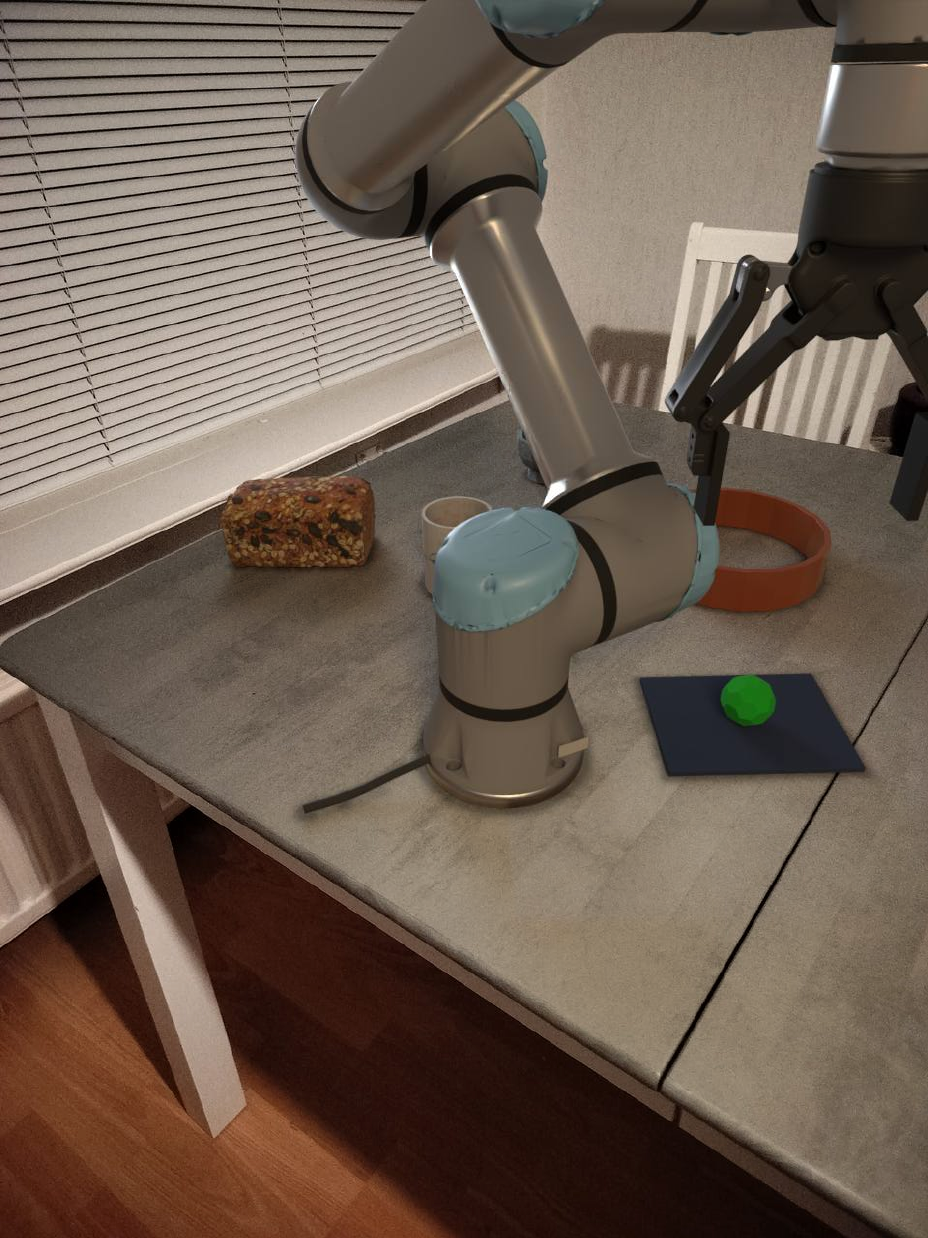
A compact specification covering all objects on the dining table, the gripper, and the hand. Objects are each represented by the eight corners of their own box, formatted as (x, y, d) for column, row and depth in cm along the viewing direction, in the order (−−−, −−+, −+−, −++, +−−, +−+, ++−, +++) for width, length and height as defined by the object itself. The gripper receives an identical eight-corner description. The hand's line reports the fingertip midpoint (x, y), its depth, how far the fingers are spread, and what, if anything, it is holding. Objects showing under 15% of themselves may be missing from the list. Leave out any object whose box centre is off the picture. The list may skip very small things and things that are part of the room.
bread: (379, 533, 116) (373, 467, 110) (366, 572, 107) (358, 503, 102) (250, 531, 117) (237, 466, 112) (226, 569, 109) (211, 500, 103)
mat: (668, 776, 76) (669, 772, 75) (639, 681, 87) (640, 677, 87) (864, 772, 76) (866, 767, 75) (809, 677, 87) (811, 673, 87)
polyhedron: (734, 740, 79) (743, 701, 76) (708, 708, 82) (715, 670, 80) (780, 729, 80) (790, 691, 77) (752, 698, 84) (760, 661, 81)
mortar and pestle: (515, 463, 135) (516, 391, 128) (573, 462, 135) (577, 390, 128) (518, 493, 126) (520, 417, 119) (580, 492, 126) (585, 416, 119)
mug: (425, 566, 108) (421, 497, 102) (490, 564, 108) (490, 495, 103) (425, 619, 98) (421, 545, 92) (497, 616, 98) (497, 542, 92)
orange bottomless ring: (659, 614, 98) (664, 574, 95) (626, 525, 116) (630, 489, 113) (850, 609, 98) (861, 569, 95) (786, 521, 116) (794, 485, 113)
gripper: (1075, 147, 47) (958, 486, 59) (641, 158, 47) (612, 494, 59) (1169, 160, 41) (1017, 535, 53) (669, 173, 41) (630, 545, 53)
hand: (803, 514), depth 56 cm, fingers open, 13 cm apart
